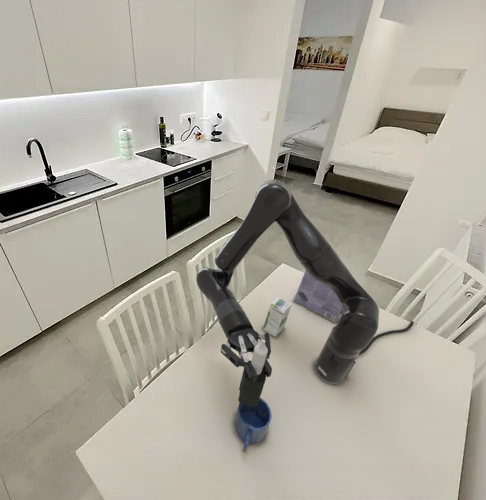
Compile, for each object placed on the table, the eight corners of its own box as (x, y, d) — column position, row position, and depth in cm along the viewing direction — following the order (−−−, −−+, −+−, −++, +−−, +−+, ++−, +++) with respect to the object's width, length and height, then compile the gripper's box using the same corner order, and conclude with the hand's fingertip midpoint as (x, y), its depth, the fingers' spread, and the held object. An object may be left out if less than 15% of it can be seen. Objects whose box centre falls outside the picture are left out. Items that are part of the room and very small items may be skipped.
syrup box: (270, 321, 115) (277, 296, 106) (283, 329, 112) (292, 304, 103) (262, 329, 112) (269, 304, 103) (276, 338, 108) (284, 313, 100)
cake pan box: (342, 318, 117) (357, 287, 106) (337, 325, 114) (353, 294, 103) (297, 295, 127) (308, 264, 116) (292, 301, 124) (303, 270, 113)
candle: (257, 407, 74) (276, 352, 59) (238, 403, 75) (251, 348, 60) (257, 388, 78) (275, 332, 63) (239, 385, 79) (252, 328, 64)
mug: (239, 405, 88) (242, 390, 83) (268, 418, 86) (274, 403, 80) (227, 448, 79) (230, 434, 74) (259, 463, 76) (265, 450, 71)
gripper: (209, 315, 74) (236, 376, 61) (258, 304, 78) (293, 360, 65) (208, 333, 79) (232, 393, 66) (253, 322, 82) (286, 377, 69)
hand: (262, 376), depth 65 cm, fingers closed on candle, 3 cm apart
